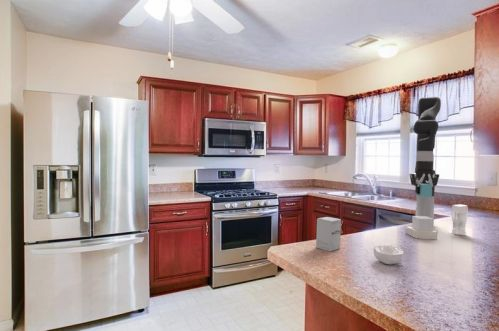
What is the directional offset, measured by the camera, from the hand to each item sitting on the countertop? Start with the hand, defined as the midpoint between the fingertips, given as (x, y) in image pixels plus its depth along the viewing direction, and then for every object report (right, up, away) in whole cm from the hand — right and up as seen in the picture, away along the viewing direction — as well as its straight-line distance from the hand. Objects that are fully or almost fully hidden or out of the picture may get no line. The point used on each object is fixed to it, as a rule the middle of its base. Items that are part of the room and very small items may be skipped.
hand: (423, 194), depth 148 cm
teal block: (0, -1, 0) cm, 1 cm away
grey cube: (0, -18, 0) cm, 18 cm away
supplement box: (-54, -21, -23) cm, 62 cm away
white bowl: (-37, -22, -40) cm, 58 cm away
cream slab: (-1, -22, +1) cm, 22 cm away
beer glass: (+23, -22, +7) cm, 32 cm away
